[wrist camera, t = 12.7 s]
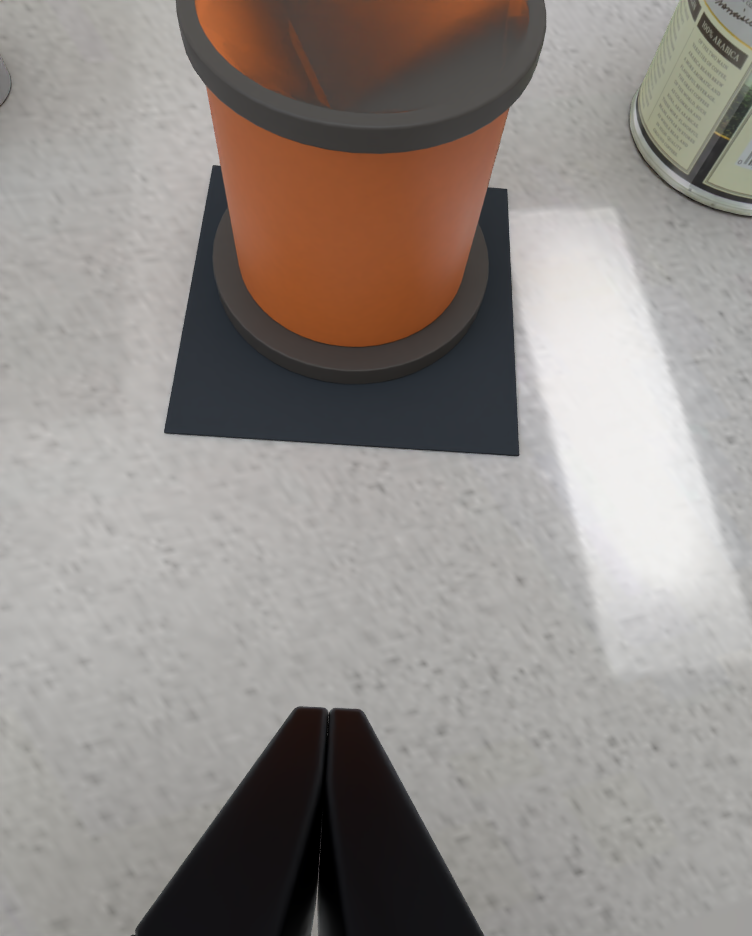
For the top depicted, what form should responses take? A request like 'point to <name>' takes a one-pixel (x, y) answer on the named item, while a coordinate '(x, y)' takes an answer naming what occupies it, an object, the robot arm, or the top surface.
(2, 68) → the lumpy-topped squat cylinder
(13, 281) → the top surface
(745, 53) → the coffee can
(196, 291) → the mat
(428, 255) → the spool
